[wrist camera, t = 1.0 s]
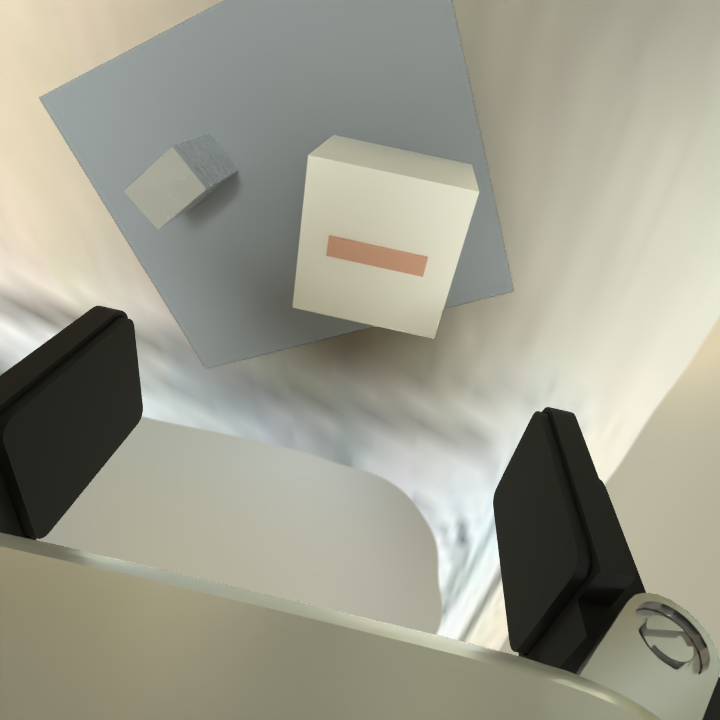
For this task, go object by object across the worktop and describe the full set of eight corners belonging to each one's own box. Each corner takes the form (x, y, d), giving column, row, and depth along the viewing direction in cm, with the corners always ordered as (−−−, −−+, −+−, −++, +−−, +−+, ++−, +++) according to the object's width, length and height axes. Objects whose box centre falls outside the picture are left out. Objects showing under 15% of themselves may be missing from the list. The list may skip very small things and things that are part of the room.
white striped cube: (471, 164, 21) (479, 193, 17) (435, 291, 25) (434, 341, 21) (333, 134, 22) (306, 155, 17) (316, 264, 25) (291, 309, 21)
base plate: (429, -97, 18) (429, -108, 17) (510, 279, 26) (514, 291, 24) (59, 95, 24) (38, 97, 23) (215, 356, 31) (205, 369, 30)
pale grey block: (210, 132, 22) (171, 146, 19) (238, 170, 23) (206, 189, 20) (166, 172, 24) (123, 191, 20) (194, 206, 24) (157, 229, 21)
